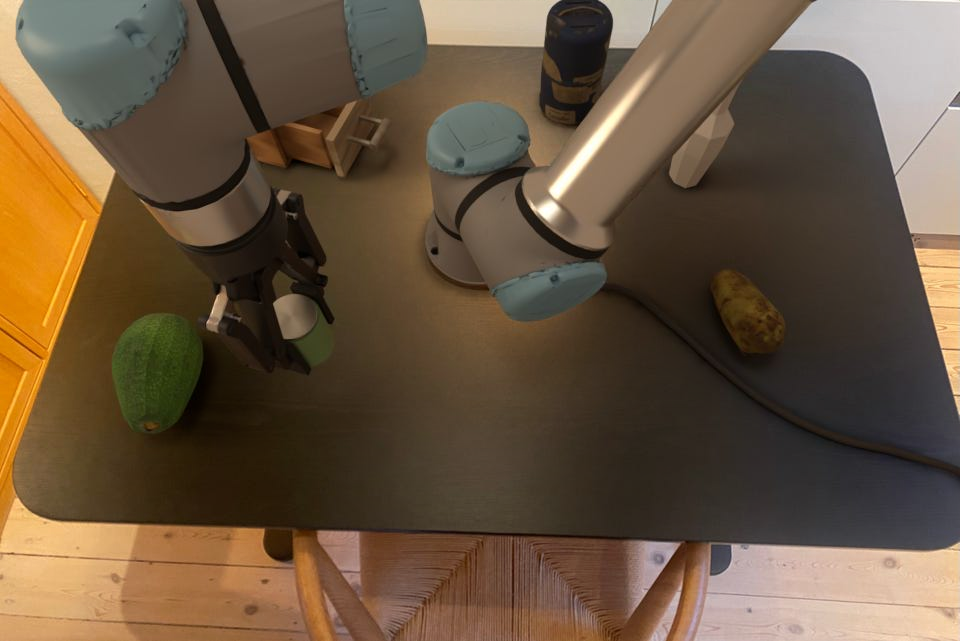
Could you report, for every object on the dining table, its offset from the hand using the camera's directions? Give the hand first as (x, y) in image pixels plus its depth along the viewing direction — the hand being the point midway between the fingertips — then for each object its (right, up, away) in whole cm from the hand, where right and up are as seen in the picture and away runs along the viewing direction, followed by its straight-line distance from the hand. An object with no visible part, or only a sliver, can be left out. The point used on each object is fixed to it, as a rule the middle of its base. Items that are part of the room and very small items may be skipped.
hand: (309, 342), depth 62 cm
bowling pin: (+49, +24, +31) cm, 63 cm away
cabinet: (-17, +33, +35) cm, 51 cm away
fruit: (-22, -6, +16) cm, 27 cm away
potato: (+52, +2, +19) cm, 56 cm away
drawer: (-5, +30, +32) cm, 44 cm away
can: (0, 0, 0) cm, 0 cm away
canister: (+32, +37, +37) cm, 61 cm away
